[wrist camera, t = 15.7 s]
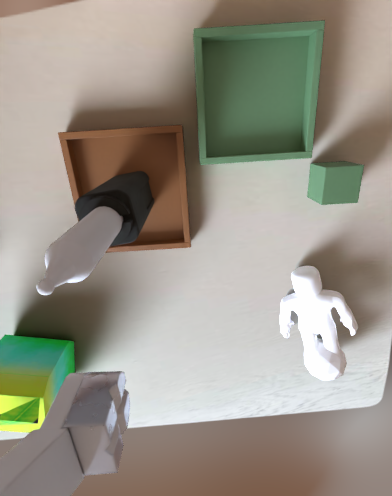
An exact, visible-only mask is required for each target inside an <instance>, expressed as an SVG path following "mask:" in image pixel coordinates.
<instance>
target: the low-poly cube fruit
mask: <svg viewBox="0 0 392 496" xmlns="http://www.w3.org/2000/svg"><path fill="white" fill-rule="evenodd" d="M70 373H75V354H74V342H73V341H68V340H57V339H46V338H35V337H24V336H13V335H5V336H4V337H3V338H2V339H1V340H0V431H14V432H28V433H30V432H32V431H33V430H37V429H40V427H41V425H42V423H43V421H44V419H45V417H46V415H47V413H48V411H49V409H50V407H51V405H52V403H53V401H54V399H55V397H56V395H57V393H58V391H59V389H60V387H61V385H62V383H63V382H64V380H65V378H66V377H67V376H68V375H69V374H70Z"/></svg>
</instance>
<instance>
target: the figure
mask: <svg viewBox="0 0 392 496" xmlns="http://www.w3.org/2000/svg"><path fill="white" fill-rule="evenodd" d="M291 279H292V283H293V287H294V290H295V293H292V294H290V295H287V296H286V297H284V298H283V299H282V301H281V312H280V331H281V333H282V334H283V335H284V337H285V338H288V339H289V333H290V331H289V330H290V329H291V324H292V325H294V322H293V321H292V320H290V318H291V310H293V311H295V312H296V313H297V315H298V319H299V326H298V328H299V330H300V332H301V335H302V339H303V342H304V349H305V351H304V364H305V366H306V367H307V369H308V370H309V372H310V373H311V374H312V375H314V376H315V377H317V378H319V379H321V380H334V379H336V378H338V377H340V376H342V375H343V373H344V370H345V367H346V364H347V363H346V358H345V354H344V352H343V351H342V350H341V348H340V346H339V343H338V337H337V331H336V324H335V322H334V320H333V318H332V315H331V309H332V307H336V309H337V311H338V313H339V314H340V316H341V318H340V322H343V324H344V326H345V327H347V328H349V330H351V331H350V333H351V335H352V336H353V335H355V334H356V332H357V329H358V325H357V322H356V320H355V318H354V316H353V313H352V311H351V309H350V308H349V307H348V306H347V304H346V302H345V299H344V297H343V296H342V295H341V294H340V293H339V292H336V291H332V290H325V289H322V283H321V278H320V273H319V271H318V270H317V269H316V268H315V267H313V266H301V267H298V268H296V269H295V270H294V271H293V272H292V274H291ZM317 334H321V336H322V339H317Z"/></svg>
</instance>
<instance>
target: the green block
mask: <svg viewBox="0 0 392 496" xmlns="http://www.w3.org/2000/svg"><path fill="white" fill-rule="evenodd" d="M363 168H364V165H362V164H356V163H351V162H346V161H339V162H323V163H311V165H310V175H309V186H308V196H307V197H308V198H310V199H312V200H314V201H316V202H317V203H319V204H321V205H327V204H343V203H357V202H358V198H359V192H360V186H361V180H362V174H363Z"/></svg>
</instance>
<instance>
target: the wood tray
mask: <svg viewBox="0 0 392 496" xmlns="http://www.w3.org/2000/svg"><path fill="white" fill-rule="evenodd" d="M58 135H59V139H60V143H61V148H62V152H63V157H64V161H65V165H66V170H67V174H68V178H69V183H70V187H71V191H72V196H73V200H74V204H75V203H76V201H77V199H78V198H79V197H81V196H83V195H84V194H86V193H88V192H89V191H91V190H93V189H94V188H96V187H98V186H99V185H101V184H103V183H104V182H106V181H108V180H109V179H111V178H113V177H114V176H117V175H121V174H126V173H131V172H136V171H143V172H145V173H146V174H147V175H148V177H149V185H150V189H151V193H152V197H153V198H154V205H153V207H152V209H151V211H150V213H149V215H148V217H147V219H146V221H145V223H144V225H143V228H142V230H141V232H140V234H139V236H138V238H137V239H136V240H135V241H133V242H131V243H126V244H121V245H116V246H110V247H109V248H108V249H107V251H106V252H105V253H108V252H124V251H140V250H156V249H172V248H188V247H191V239H190V225H189V211H188V197H187V183H186V168H185V154H184V140H183V126H182V125H171V126H155V127H139V128H124V129H108V130H92V131H76V132H60V133H58ZM77 218H78V216H77ZM78 222H79V219H78Z"/></svg>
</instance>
